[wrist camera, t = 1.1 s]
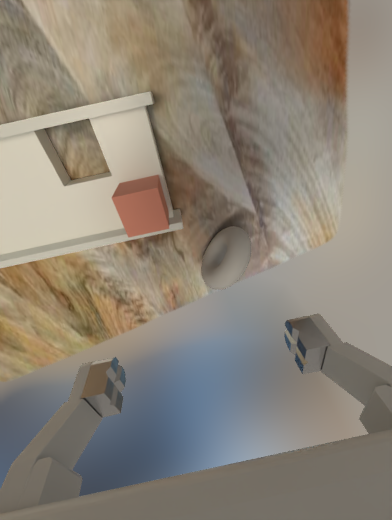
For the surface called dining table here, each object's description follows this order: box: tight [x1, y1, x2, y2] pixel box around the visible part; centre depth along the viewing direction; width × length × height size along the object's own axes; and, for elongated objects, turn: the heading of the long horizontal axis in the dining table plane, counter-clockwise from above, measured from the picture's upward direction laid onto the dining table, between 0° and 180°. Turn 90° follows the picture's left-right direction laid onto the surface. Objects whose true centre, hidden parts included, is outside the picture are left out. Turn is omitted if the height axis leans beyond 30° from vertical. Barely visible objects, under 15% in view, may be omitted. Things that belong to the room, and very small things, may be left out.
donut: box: [201, 226, 251, 290], centre depth 33 cm, size 10×3×10 cm, turn 148°
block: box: [112, 175, 169, 238], centre depth 27 cm, size 5×5×5 cm
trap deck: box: [0, 91, 183, 268], centre depth 27 cm, size 15×38×4 cm, turn 100°
